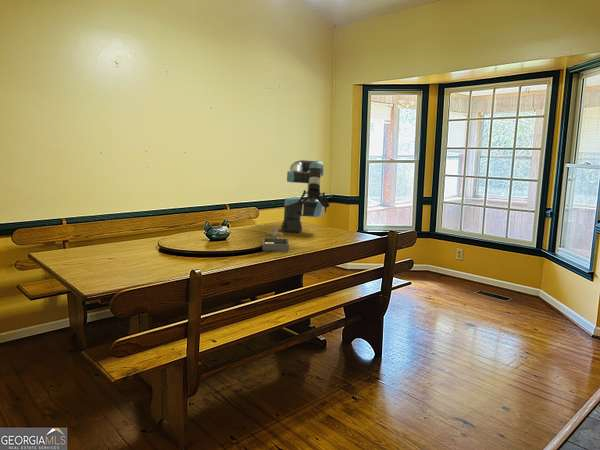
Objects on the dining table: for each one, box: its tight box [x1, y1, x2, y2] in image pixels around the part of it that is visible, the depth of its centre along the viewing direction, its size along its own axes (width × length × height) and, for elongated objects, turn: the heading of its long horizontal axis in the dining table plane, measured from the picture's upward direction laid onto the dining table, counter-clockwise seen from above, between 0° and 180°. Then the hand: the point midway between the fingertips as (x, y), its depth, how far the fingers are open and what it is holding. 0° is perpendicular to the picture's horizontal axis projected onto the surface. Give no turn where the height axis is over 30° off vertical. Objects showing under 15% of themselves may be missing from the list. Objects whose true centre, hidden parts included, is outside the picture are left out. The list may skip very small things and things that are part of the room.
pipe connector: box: [266, 225, 284, 238], centre depth 278 cm, size 10×10×10 cm
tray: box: [262, 237, 290, 253], centre depth 263 cm, size 15×15×4 cm
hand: (312, 216), depth 281 cm, fingers open, 13 cm apart
